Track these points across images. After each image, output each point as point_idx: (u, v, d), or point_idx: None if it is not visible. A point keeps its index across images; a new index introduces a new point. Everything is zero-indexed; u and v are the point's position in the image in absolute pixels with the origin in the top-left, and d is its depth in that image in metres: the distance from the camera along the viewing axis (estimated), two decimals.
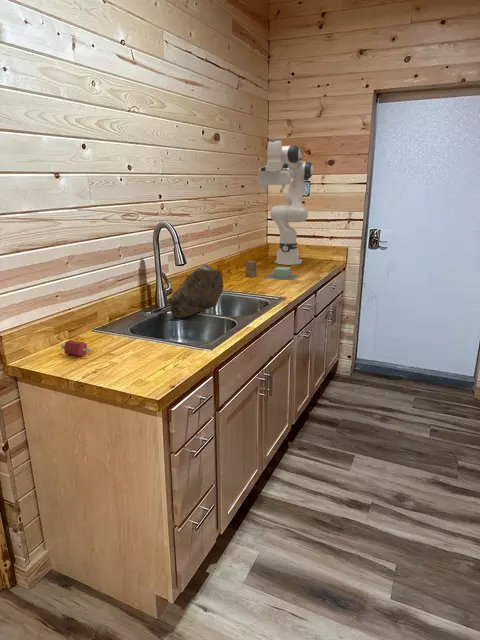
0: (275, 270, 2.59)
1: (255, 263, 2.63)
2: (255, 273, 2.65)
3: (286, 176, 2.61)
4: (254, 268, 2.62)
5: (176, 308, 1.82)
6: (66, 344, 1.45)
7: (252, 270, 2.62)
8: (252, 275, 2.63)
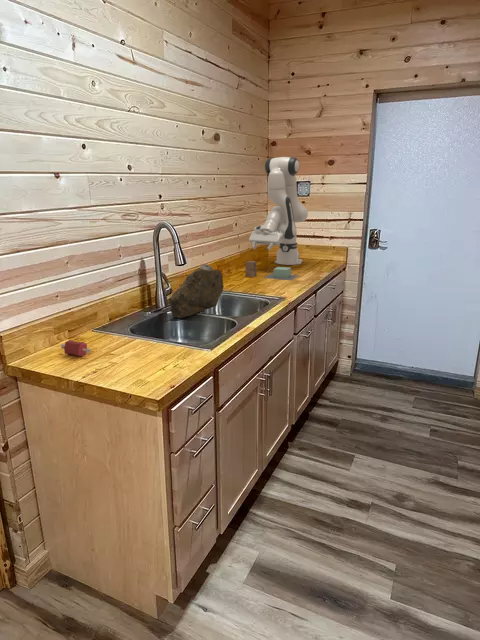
0: (275, 270, 2.59)
1: (255, 263, 2.63)
2: (255, 273, 2.65)
3: (277, 235, 2.70)
4: (254, 268, 2.62)
5: (176, 308, 1.82)
6: (66, 344, 1.45)
7: (252, 270, 2.62)
8: (252, 275, 2.63)
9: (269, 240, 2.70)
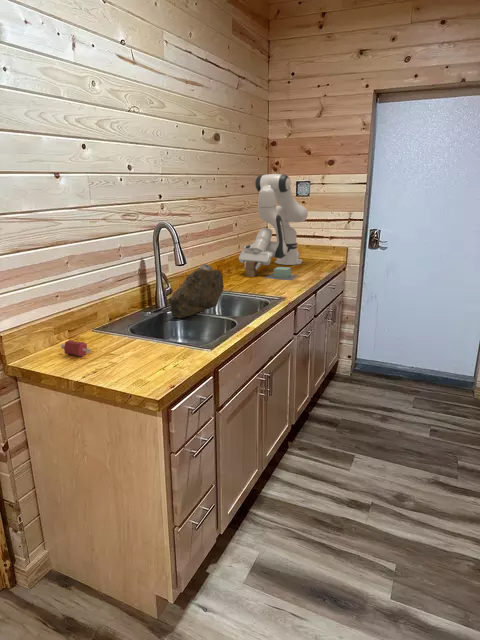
0: (275, 270, 2.59)
1: (255, 263, 2.63)
2: (255, 273, 2.65)
3: (267, 255, 2.62)
4: None
5: (176, 308, 1.82)
6: (66, 344, 1.45)
7: (252, 270, 2.62)
8: (252, 275, 2.63)
9: (259, 260, 2.63)
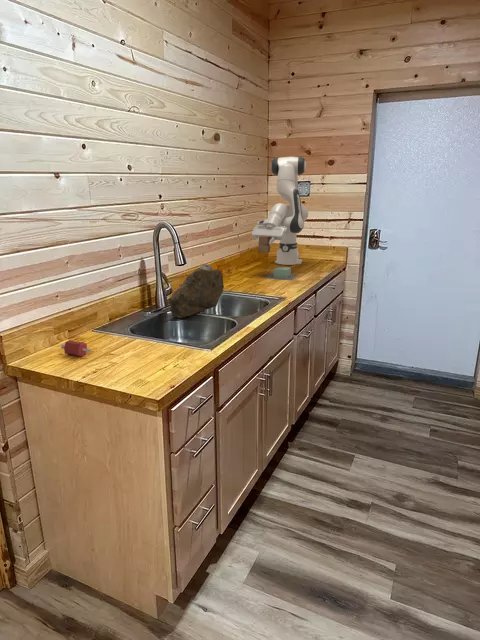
0: (275, 270, 2.59)
1: (268, 238, 2.56)
2: (268, 248, 2.58)
3: (281, 230, 2.55)
4: (267, 243, 2.55)
5: (176, 308, 1.82)
6: (66, 344, 1.45)
7: (265, 245, 2.54)
8: (265, 250, 2.55)
9: (272, 235, 2.55)
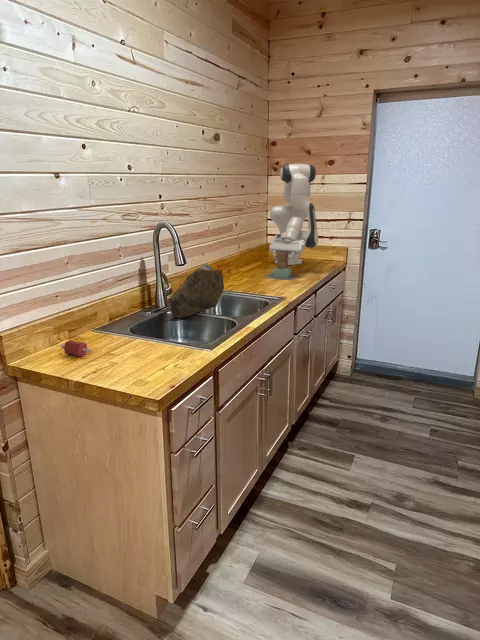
0: (275, 270, 2.59)
1: (287, 254, 2.59)
2: (286, 264, 2.60)
3: (299, 244, 2.57)
4: (285, 260, 2.58)
5: (176, 308, 1.82)
6: (66, 344, 1.45)
7: (284, 261, 2.57)
8: (283, 266, 2.58)
9: (290, 249, 2.58)
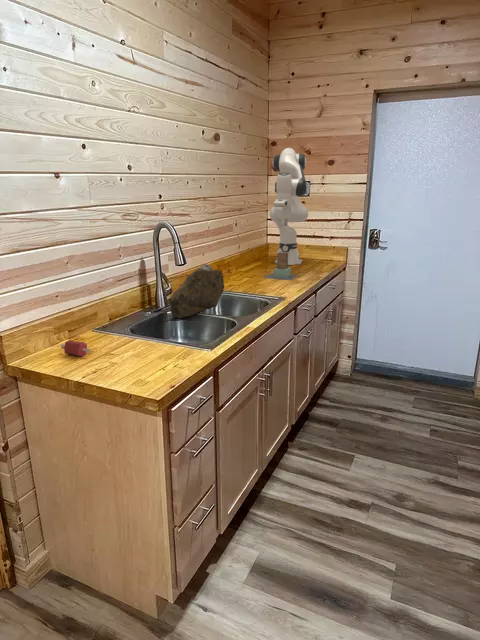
0: (275, 270, 2.59)
1: (287, 254, 2.59)
2: (286, 264, 2.60)
3: (290, 209, 2.64)
4: (285, 260, 2.58)
5: (176, 308, 1.82)
6: (66, 344, 1.45)
7: (284, 261, 2.57)
8: (283, 266, 2.58)
9: (288, 216, 2.61)
